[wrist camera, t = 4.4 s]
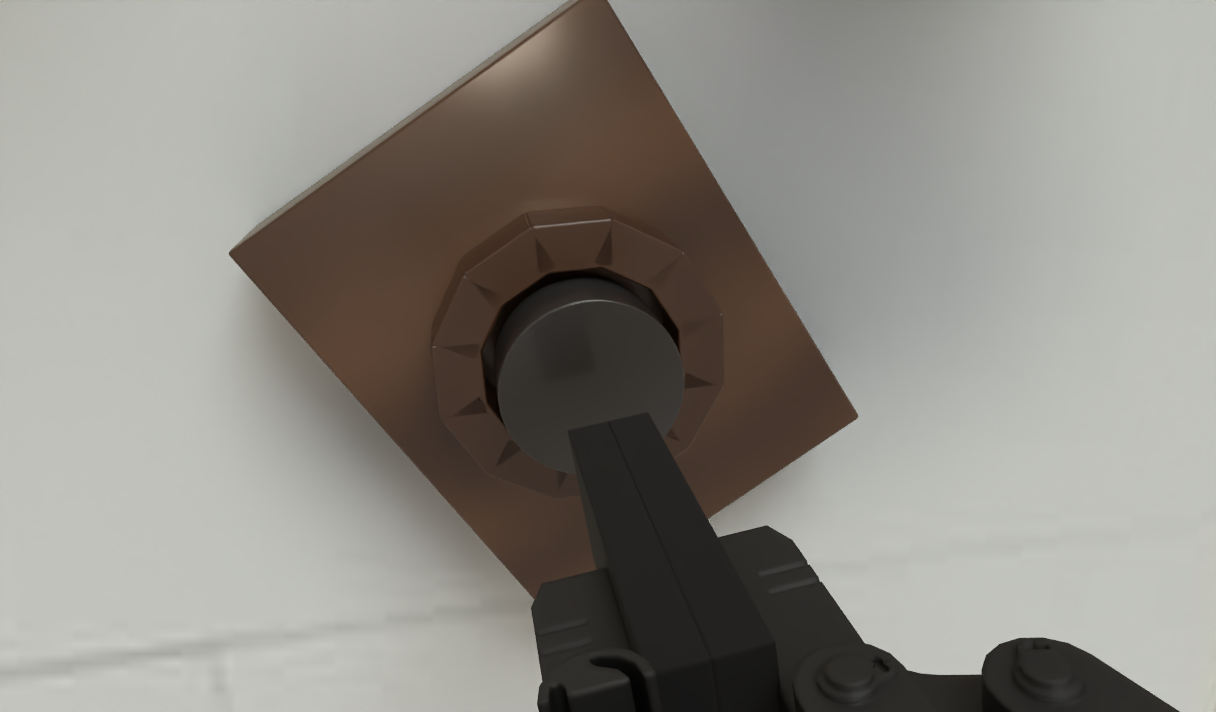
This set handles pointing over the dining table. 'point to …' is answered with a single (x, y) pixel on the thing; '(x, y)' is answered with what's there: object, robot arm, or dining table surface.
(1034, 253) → the dining table surface
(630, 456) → the robot arm
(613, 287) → the button
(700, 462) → the button box
